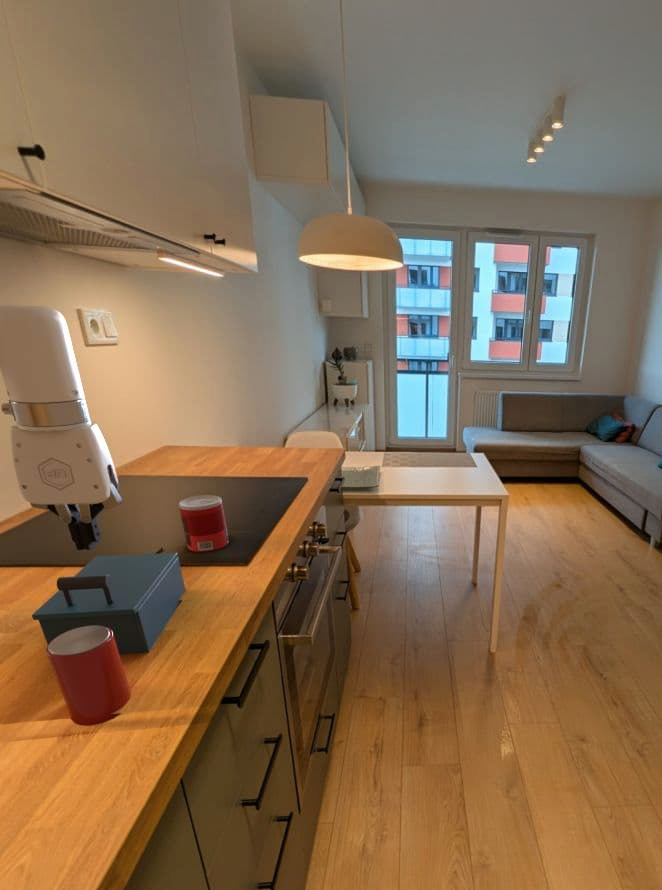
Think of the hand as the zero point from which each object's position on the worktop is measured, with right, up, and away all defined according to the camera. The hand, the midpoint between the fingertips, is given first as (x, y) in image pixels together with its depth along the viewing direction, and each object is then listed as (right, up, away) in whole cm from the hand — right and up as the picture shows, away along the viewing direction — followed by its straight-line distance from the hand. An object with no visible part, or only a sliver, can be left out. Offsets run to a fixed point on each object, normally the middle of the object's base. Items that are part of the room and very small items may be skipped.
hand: (89, 545), depth 72 cm
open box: (0, -13, +9) cm, 16 cm away
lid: (0, -6, +5) cm, 8 cm away
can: (+7, -21, -7) cm, 23 cm away
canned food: (0, -1, +36) cm, 36 cm away
